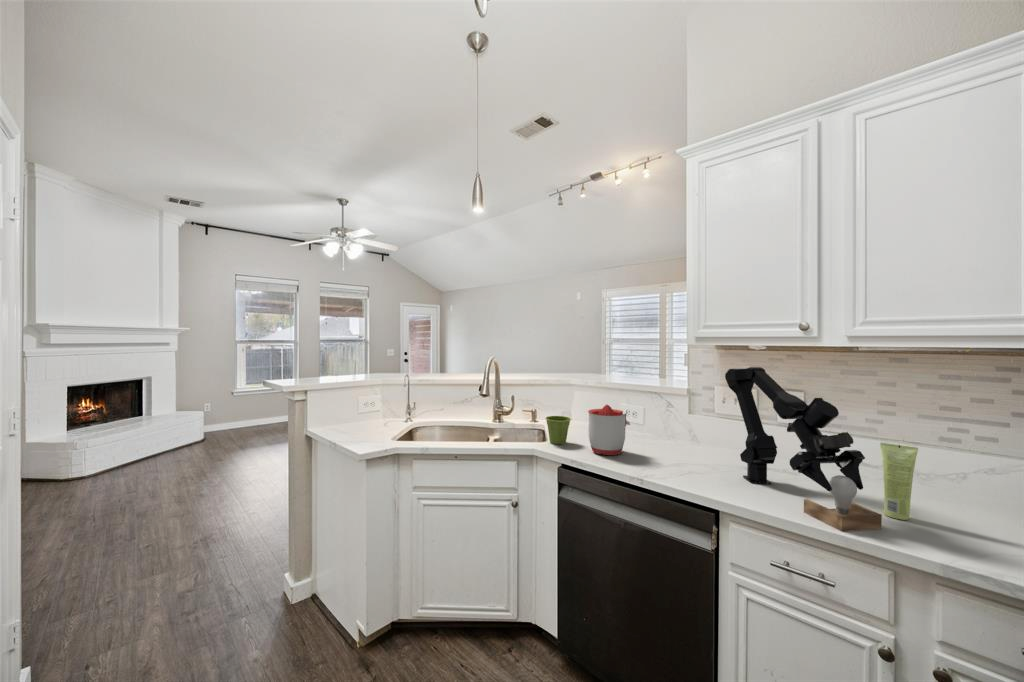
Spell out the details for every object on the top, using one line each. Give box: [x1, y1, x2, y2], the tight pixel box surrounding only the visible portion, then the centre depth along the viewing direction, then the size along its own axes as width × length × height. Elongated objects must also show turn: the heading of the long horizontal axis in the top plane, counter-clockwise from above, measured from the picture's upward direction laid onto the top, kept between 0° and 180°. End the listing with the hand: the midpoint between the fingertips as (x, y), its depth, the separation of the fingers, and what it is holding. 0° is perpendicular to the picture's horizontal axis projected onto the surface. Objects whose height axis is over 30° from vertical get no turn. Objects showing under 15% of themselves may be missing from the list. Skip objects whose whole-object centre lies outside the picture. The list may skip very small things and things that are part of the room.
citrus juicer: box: [587, 404, 631, 456], centre depth 175 cm, size 16×17×20 cm
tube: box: [879, 442, 919, 521], centre depth 113 cm, size 6×5×20 cm
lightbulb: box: [828, 474, 858, 515], centre depth 110 cm, size 6×6×11 cm
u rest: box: [803, 498, 883, 532], centre depth 110 cm, size 11×11×4 cm
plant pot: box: [544, 415, 572, 445], centre depth 190 cm, size 12×12×11 cm
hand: (846, 489), depth 109 cm, fingers open, 9 cm apart
